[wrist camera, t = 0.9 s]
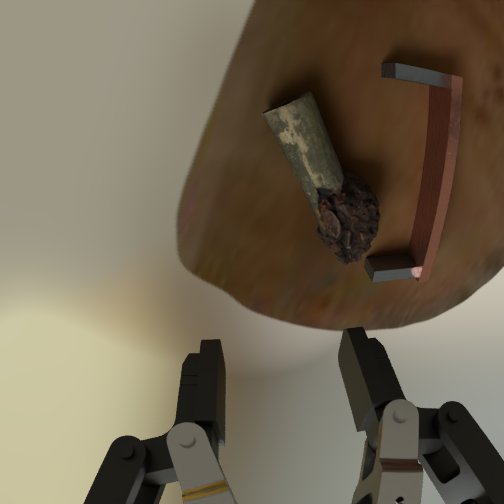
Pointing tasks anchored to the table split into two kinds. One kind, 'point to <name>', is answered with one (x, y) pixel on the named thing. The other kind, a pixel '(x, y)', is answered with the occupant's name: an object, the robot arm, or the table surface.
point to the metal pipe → (325, 178)
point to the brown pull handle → (427, 175)
